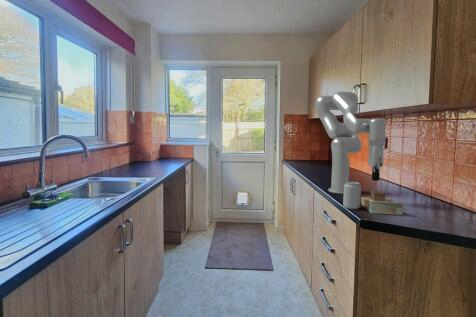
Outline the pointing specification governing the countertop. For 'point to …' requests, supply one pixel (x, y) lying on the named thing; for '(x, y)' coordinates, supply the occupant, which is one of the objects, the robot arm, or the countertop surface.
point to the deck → (382, 206)
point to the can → (352, 195)
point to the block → (377, 195)
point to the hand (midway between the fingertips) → (375, 180)
